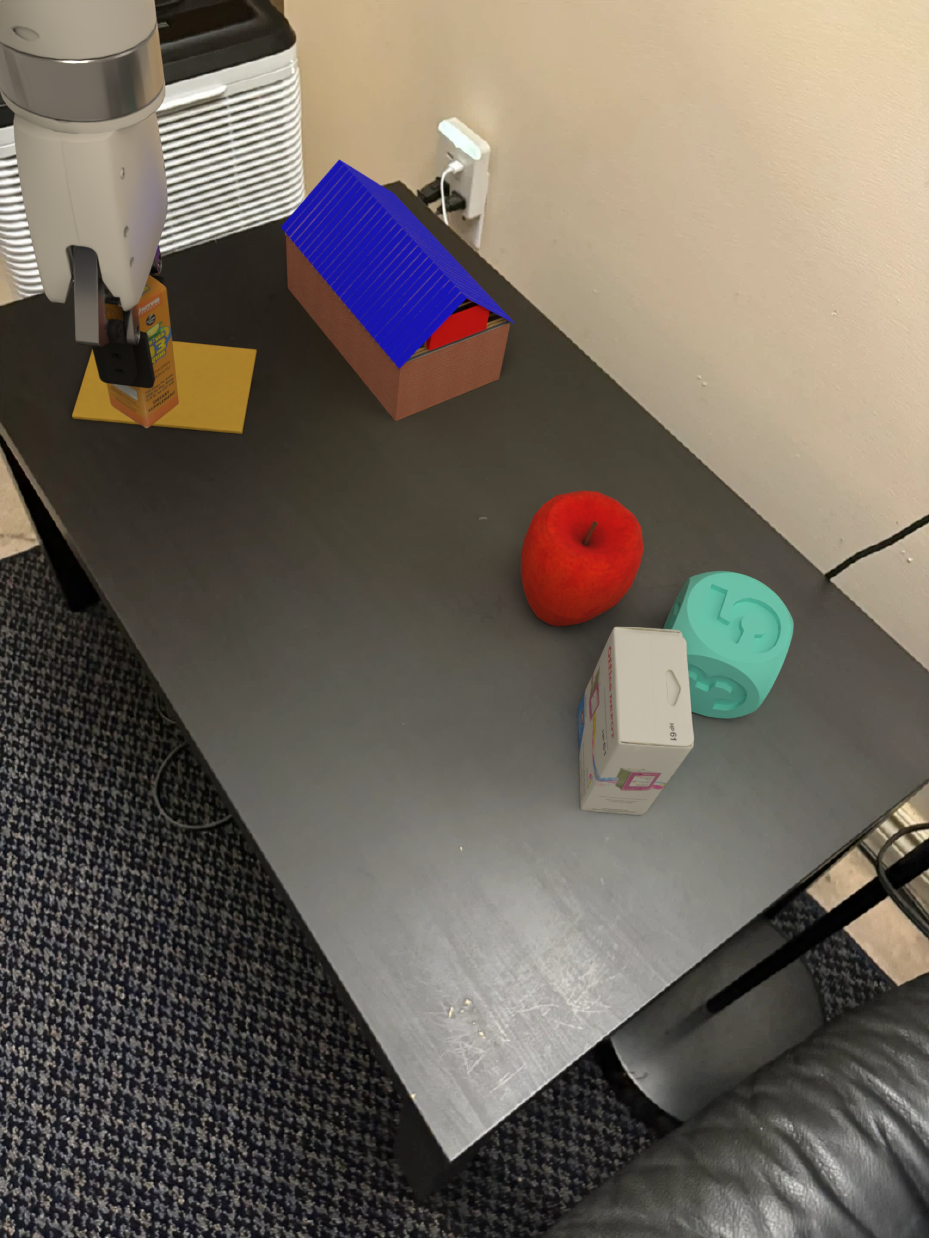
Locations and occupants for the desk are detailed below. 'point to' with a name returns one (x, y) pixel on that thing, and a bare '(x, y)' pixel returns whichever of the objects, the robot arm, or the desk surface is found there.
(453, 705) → the desk surface
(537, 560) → the apple
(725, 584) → the decorative dice
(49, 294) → the robot arm
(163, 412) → the supplement box
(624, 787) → the ink box
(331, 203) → the house
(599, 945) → the desk surface
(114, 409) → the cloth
